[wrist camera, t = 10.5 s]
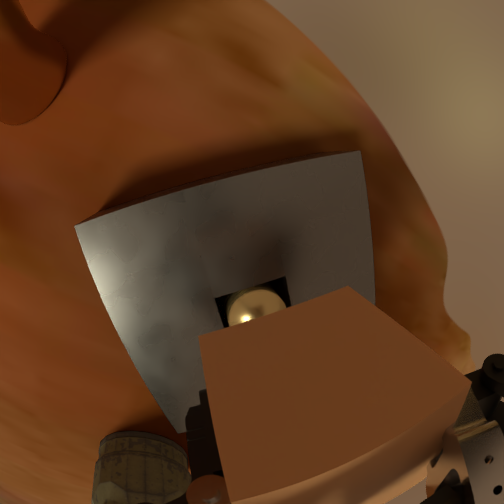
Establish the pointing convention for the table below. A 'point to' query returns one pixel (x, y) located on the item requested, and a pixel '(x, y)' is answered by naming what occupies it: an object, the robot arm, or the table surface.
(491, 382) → the robot arm
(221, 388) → the light brown cube
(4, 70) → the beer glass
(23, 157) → the table surface
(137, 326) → the plate
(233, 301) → the pin
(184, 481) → the green stone statue
